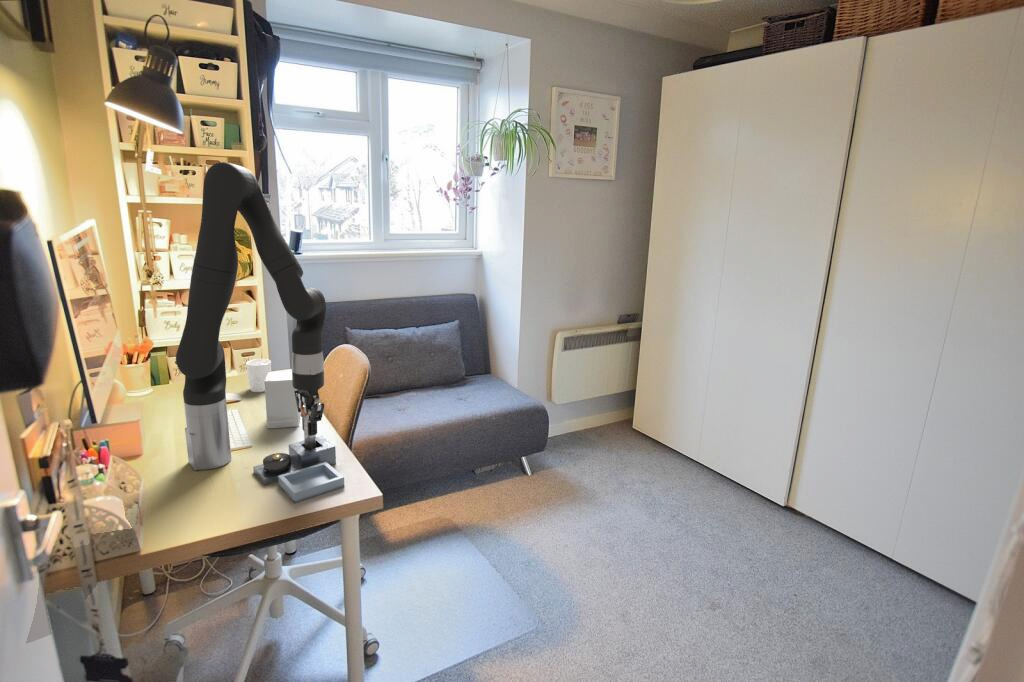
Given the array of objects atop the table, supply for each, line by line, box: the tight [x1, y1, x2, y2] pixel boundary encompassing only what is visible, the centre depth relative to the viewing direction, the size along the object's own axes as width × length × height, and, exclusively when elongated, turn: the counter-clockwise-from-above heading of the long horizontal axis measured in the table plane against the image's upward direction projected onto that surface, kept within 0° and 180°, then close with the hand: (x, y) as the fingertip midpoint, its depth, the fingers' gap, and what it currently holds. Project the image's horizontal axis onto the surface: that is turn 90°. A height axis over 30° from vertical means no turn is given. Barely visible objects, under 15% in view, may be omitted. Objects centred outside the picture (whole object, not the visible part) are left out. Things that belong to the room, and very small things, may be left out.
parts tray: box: [277, 462, 345, 504], centre depth 132 cm, size 12×10×2 cm
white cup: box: [245, 358, 272, 393], centre depth 192 cm, size 8×8×10 cm
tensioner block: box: [253, 435, 337, 486], centre depth 140 cm, size 18×8×5 cm, turn 132°
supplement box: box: [264, 370, 301, 429], centre depth 166 cm, size 9×9×15 cm
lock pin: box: [300, 408, 317, 450], centre depth 141 cm, size 4×4×12 cm
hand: (309, 432), depth 141 cm, fingers closed on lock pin, 2 cm apart
